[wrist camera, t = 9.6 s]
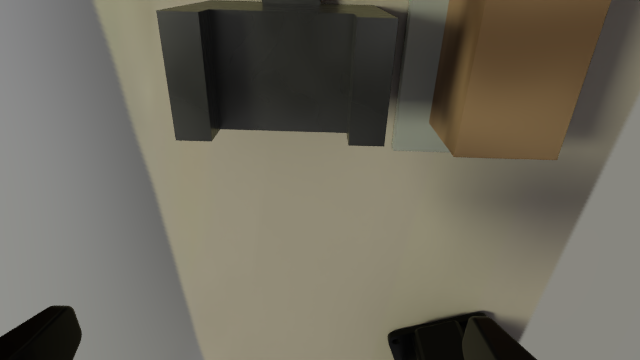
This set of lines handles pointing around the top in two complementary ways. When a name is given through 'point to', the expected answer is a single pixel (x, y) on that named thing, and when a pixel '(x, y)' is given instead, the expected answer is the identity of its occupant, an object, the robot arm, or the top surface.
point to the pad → (419, 77)
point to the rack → (279, 67)
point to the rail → (512, 75)
